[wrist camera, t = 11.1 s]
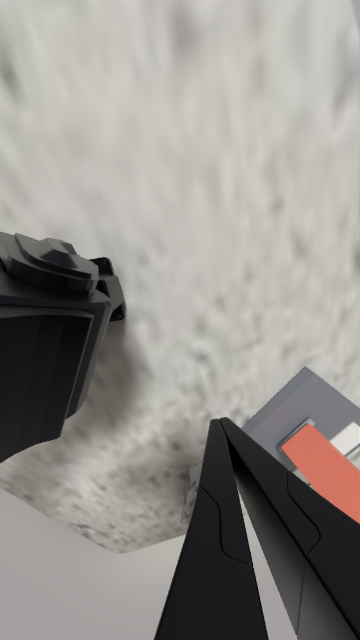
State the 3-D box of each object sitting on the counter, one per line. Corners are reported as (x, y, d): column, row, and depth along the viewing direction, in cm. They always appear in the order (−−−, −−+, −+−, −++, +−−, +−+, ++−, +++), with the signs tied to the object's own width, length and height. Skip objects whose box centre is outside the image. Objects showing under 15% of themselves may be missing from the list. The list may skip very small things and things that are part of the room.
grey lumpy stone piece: (218, 503, 32) (225, 537, 28) (177, 501, 31) (178, 536, 27) (236, 461, 29) (247, 492, 25) (190, 457, 28) (194, 489, 24)
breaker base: (225, 443, 27) (229, 454, 26) (305, 366, 24) (315, 373, 22) (295, 480, 31) (302, 492, 29) (372, 418, 28) (385, 428, 26)
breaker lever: (275, 446, 25) (363, 556, 18) (307, 417, 24) (417, 523, 16) (278, 444, 26) (363, 548, 19) (310, 417, 25) (413, 516, 18)
